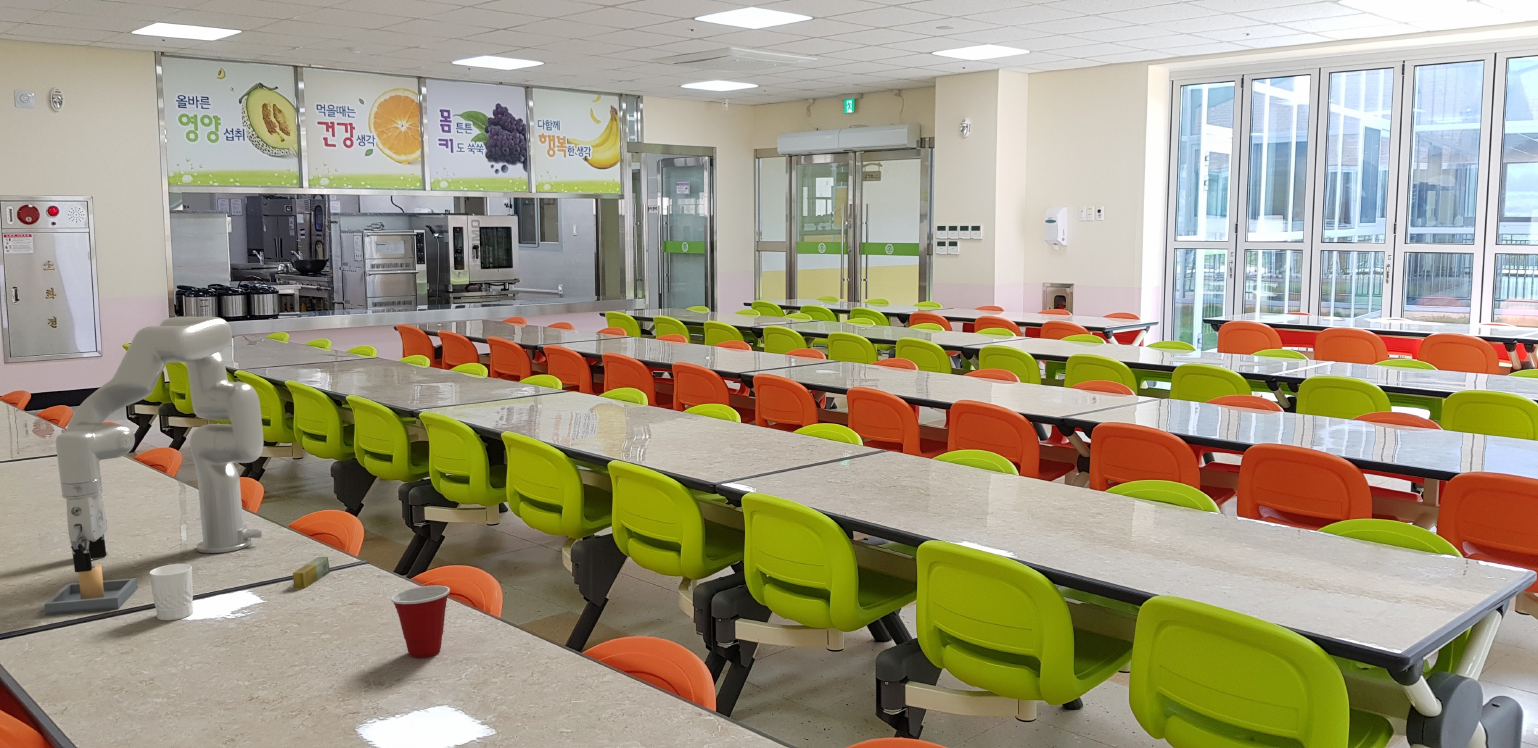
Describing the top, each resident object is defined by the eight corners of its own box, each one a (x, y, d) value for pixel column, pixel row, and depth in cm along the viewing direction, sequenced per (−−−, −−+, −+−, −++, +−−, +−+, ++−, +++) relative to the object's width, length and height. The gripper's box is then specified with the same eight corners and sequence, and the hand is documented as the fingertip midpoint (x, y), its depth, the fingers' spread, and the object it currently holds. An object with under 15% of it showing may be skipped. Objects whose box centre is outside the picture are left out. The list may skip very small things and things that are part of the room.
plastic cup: (432, 637, 225) (428, 578, 223) (465, 650, 218) (461, 589, 216) (382, 654, 217) (378, 593, 215) (415, 667, 210) (411, 604, 208)
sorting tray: (137, 588, 259) (136, 578, 258) (118, 608, 245) (117, 597, 245) (68, 594, 255) (67, 583, 255) (45, 615, 242) (44, 604, 241)
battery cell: (107, 594, 253) (104, 561, 252) (100, 601, 249) (97, 567, 248) (85, 596, 252) (82, 562, 251) (77, 602, 248) (74, 568, 247)
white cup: (149, 623, 236) (145, 576, 234) (159, 611, 243) (154, 565, 242) (191, 619, 238) (187, 572, 236) (199, 607, 245) (195, 562, 244)
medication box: (319, 573, 269) (317, 556, 268) (330, 572, 268) (328, 556, 268) (293, 589, 257) (292, 572, 256) (305, 589, 257) (303, 572, 256)
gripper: (87, 496, 239) (97, 575, 242) (113, 477, 256) (121, 550, 259) (47, 499, 238) (57, 578, 240) (76, 480, 254) (85, 554, 257)
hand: (91, 564), depth 250 cm, fingers open, 9 cm apart
